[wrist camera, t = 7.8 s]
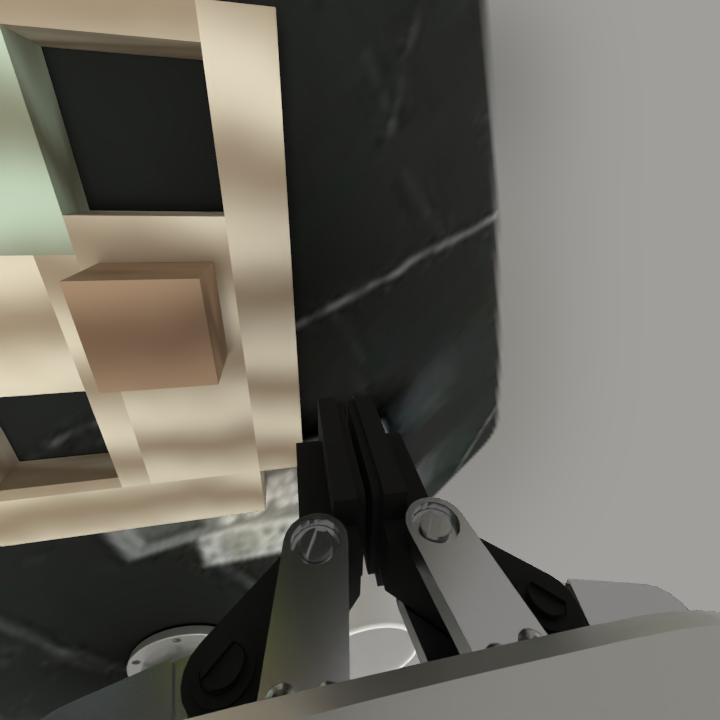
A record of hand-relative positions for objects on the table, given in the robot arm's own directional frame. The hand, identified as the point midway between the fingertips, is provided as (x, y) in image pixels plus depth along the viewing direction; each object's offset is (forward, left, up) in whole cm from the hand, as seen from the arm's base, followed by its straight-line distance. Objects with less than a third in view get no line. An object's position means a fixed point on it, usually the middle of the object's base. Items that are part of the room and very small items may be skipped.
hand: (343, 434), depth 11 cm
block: (0, +9, -13) cm, 16 cm away
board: (-2, +13, -16) cm, 21 cm away
